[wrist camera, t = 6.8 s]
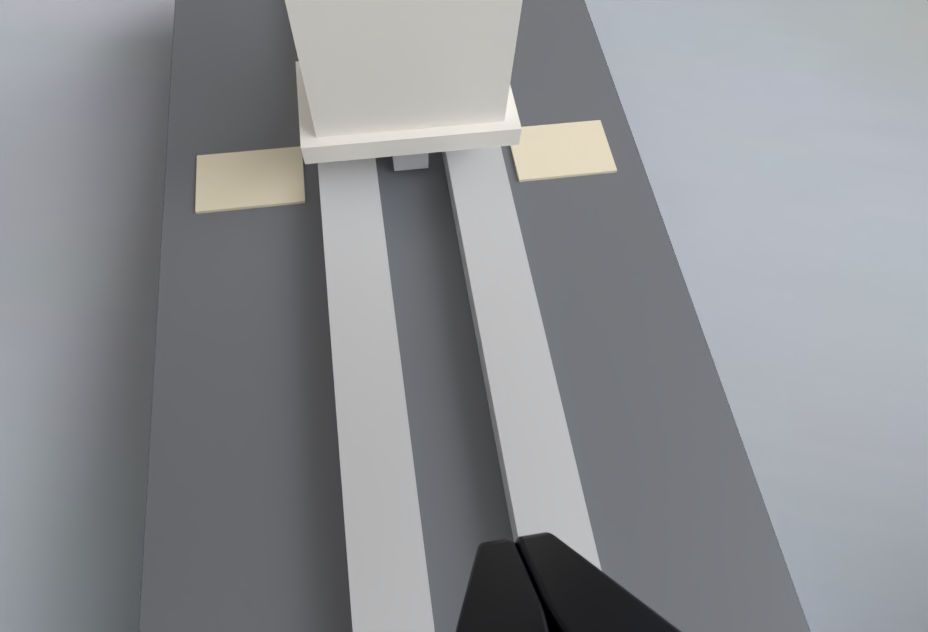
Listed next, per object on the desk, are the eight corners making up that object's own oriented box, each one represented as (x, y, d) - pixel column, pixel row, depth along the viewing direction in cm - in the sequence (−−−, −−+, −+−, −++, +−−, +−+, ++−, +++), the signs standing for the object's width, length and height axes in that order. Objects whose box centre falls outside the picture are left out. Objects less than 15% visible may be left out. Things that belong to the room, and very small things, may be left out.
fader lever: (511, 185, 18) (581, -188, 10) (315, 204, 18) (212, -176, 9) (492, 107, 19) (540, -279, 11) (309, 123, 19) (215, -275, 10)
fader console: (874, 995, 13) (1007, 1104, 10) (164, 1185, 11) (70, 1385, 8) (553, 5, 26) (569, -75, 23) (200, 28, 24) (168, -55, 21)
